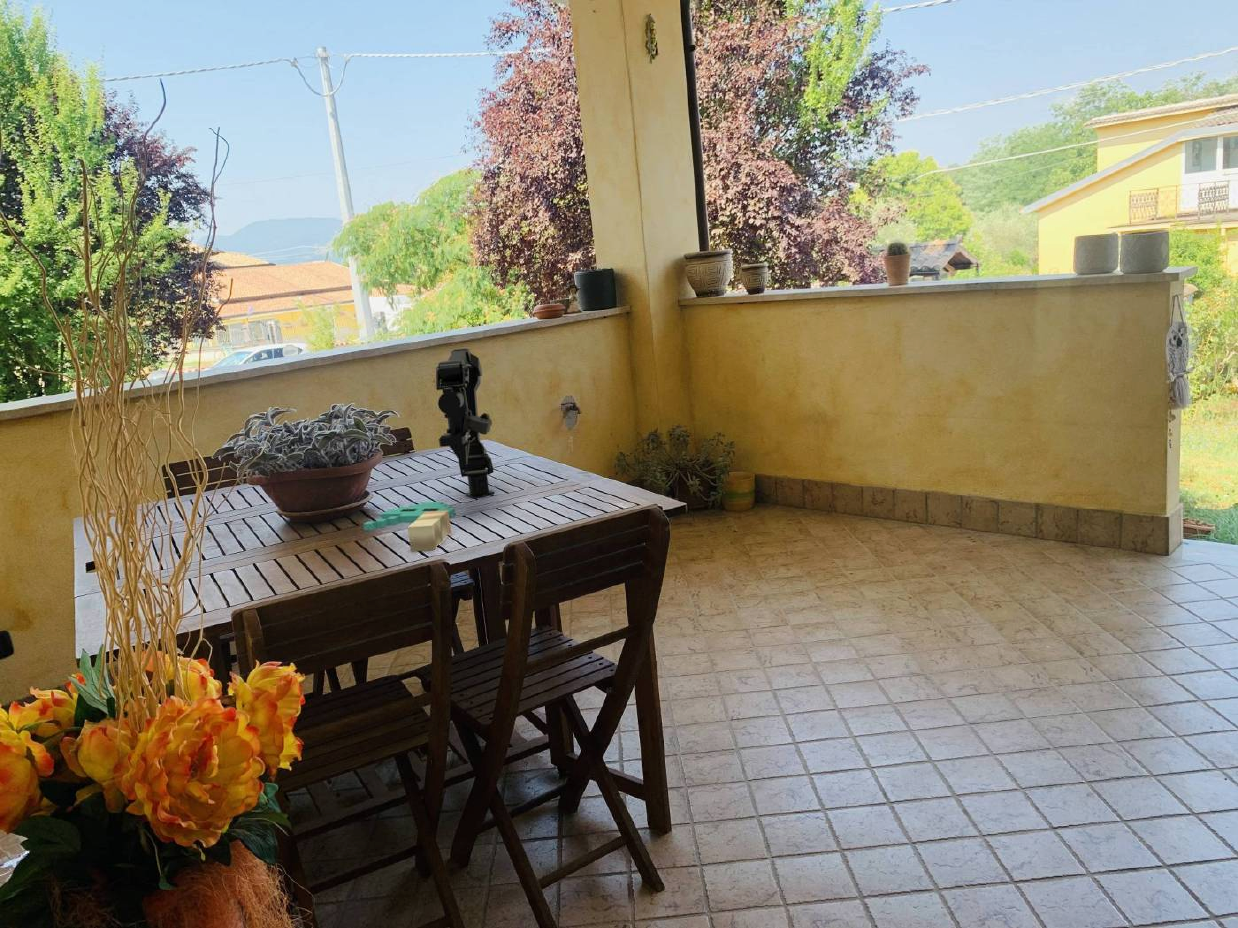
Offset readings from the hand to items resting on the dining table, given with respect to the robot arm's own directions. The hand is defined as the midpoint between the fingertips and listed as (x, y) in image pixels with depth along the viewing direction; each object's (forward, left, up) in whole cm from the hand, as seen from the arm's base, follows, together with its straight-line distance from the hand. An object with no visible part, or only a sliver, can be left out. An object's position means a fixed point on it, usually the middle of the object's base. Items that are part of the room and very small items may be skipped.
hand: (464, 465), depth 246 cm
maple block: (+12, -15, -10) cm, 22 cm away
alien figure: (-7, -13, -14) cm, 20 cm away
